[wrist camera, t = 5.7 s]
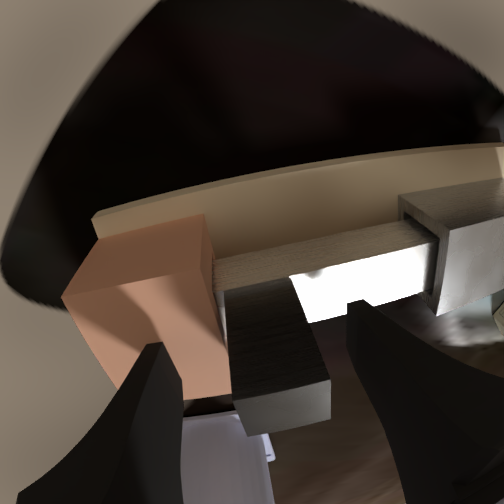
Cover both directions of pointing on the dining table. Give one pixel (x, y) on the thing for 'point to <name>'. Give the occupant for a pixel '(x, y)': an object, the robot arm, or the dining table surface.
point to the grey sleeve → (461, 240)
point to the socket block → (153, 303)
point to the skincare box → (500, 318)
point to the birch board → (307, 197)
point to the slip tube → (307, 312)
